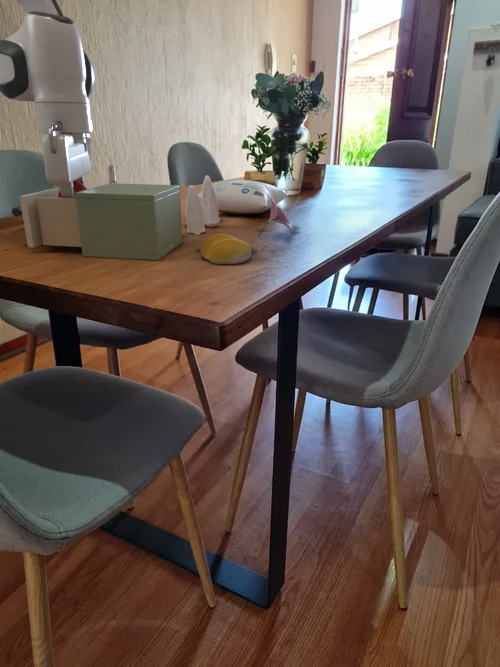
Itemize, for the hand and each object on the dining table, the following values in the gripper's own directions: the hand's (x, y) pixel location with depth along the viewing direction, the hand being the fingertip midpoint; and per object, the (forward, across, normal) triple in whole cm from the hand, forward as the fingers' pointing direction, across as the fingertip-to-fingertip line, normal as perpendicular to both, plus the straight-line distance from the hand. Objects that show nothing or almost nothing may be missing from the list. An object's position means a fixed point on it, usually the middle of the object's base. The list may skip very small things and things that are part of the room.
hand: (75, 204), depth 92 cm
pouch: (+8, +35, -34) cm, 49 cm away
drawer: (+7, 0, +2) cm, 7 cm away
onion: (+3, 0, 0) cm, 3 cm away
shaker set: (+8, +14, -24) cm, 29 cm away
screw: (+8, +20, -4) cm, 22 cm away
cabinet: (+8, -3, -10) cm, 13 cm away
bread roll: (+8, -11, -27) cm, 30 cm away
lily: (+8, +5, -39) cm, 40 cm away
